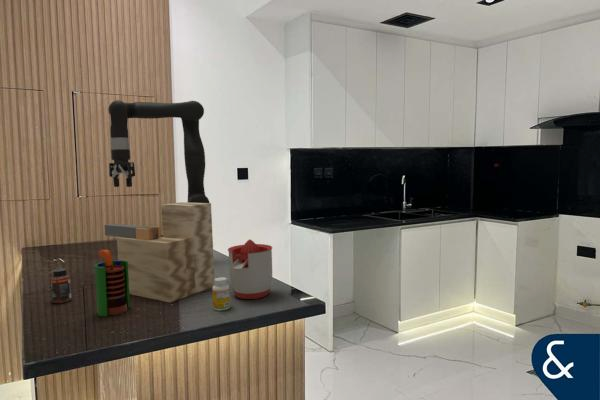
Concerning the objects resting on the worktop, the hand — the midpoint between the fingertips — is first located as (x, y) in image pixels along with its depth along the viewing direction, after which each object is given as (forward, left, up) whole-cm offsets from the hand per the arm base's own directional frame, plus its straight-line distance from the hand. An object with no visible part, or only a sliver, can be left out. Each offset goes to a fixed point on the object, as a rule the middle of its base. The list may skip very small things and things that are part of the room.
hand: (122, 186), depth 190 cm
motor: (+34, +38, -38) cm, 64 cm away
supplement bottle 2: (+15, +68, -38) cm, 79 cm away
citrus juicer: (0, +68, -38) cm, 78 cm away
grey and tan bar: (+15, +24, -18) cm, 33 cm away
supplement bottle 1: (+36, +12, -38) cm, 54 cm away
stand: (+8, +34, -38) cm, 52 cm away
